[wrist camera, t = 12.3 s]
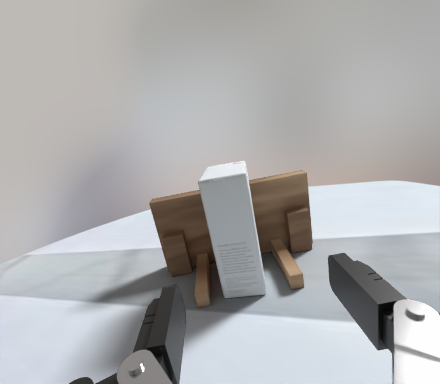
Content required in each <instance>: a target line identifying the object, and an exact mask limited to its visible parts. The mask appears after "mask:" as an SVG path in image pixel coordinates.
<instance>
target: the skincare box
mask: <svg viewBox="0 0 440 384" xmlns="http://www.w3.org/2000/svg"><path fill="white" fill-rule="evenodd" d="M198 184H199V189H200V193H201V198H202V202H203V206H204V211H205V216H206V220H207V225H208V229H209V233H210V238H211V242H212V247H213V251H214V256H215V260H216V265H217V269H218V273H219V278H220V282H221V286H222V290H223V295H224V297H225V298H235V297H244V296H255V295H264V294H266V286H265V278H264V270H263V264H262V258H261V252H260V247H259V241H258V235H257V229H256V223H255V217H254V211H253V205H252V198H251V192H250V186H249V179H248V173H247V168H246V163H245V161H240V162H234V163H228V164H221V165H216V166H210V167H207V168H206V170H205V172H204V173H203V175H202V177H201V178H200V180H199V181H198Z"/></svg>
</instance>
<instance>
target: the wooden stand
mask: <svg viewBox="0 0 440 384" xmlns="http://www.w3.org/2000/svg"><path fill="white" fill-rule="evenodd" d="M249 186H250V192H251V198H252V205H253V211H254V217H255V223H256V229H257V235H258V241H259V247H260V252H261V253H266V252H271V251H272V253H273V254H274V256H275V258H276V260H277V262H278V264H279V266H280V268H281V270H282V272H283V274H284V276H285V278H286V280H287V282H288V283H289V285H290V287H291V289H296V288H301V287H304V281H303V273H302V272H301V270H300V269H299V267H298V265H297V264H296V262H295V261H294V259H293V258H292V256H291V255H290V253H289V252H288V250H287V248H289V249H290V251H291V252H292V253H296V252H301V251H306V250H311V249H312V244H313V241H312V230H311V218H310V206H309V194H308V183H307V173H306V172H304V171H302V170H300V171H295V172H290V173H285V174H280V175H274V176H269V177H264V178H259V179H254V180H249ZM149 204H150V207H151V211H152V214H153V218H154V221H155V225H156V228H157V232H158V235H159V239H160V243H161V246H162V250H163V253H164V257H165V260H166V264H167V267H168V271H171V274H172V276H177V275H182V274H188V273H192V269H193V267H194V266H196V280H195V293H194V295H195V299H196V303H197V307H204V306H209V305H210V263H215V262H216V260H215V256H214V251H213V247H212V242H211V238H210V233H209V229H208V225H207V220H206V216H205V211H204V206H203V202H202V198H201V193H200V190H197V191H192V192H187V193H181V194H176V195H172V196H166V197H161V198H156V199H152V200H151V202H150V203H149Z"/></svg>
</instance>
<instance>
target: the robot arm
mask: <svg viewBox="0 0 440 384" xmlns="http://www.w3.org/2000/svg"><path fill="white" fill-rule="evenodd" d="M328 266H329V281H330V285H331V288H332V290H333V292H334V294H335V295H336V296H337V298H338V299H339V300H340V301H341V303H342V304H343V305H344V307H345V308H346V309H347V311H348V312H349V313H350V315H351V316H352V317H353V319H354V320H355V321H356V322H357V324H358V325H359V326H360V328H361V329H362V330H363V332H364V333H365V334H366V336H367V337H368V338H369V340H370V341H371V342H372V343H373V345H374V346H375V347H376V349H377V350H383V349H389V350H390V351H391V353H392V384H440V313H437V312H436V311H435V310H434V309H433V308H431V307H430V306H428V305H426V304H424V303H421V302H419V301H415V300H407V299H406V298H405V297H404V296H403V295H402V294H401V293H399V292H398V291H397V290H396V289H395V288H394V287H392V286H391V285H390V284H389V283H388V282H387V281H385V280H384V279H383V278H382V277H381V276H380V275H379V274H376V272H375V271H374V270H373V269H372V268H370V267H369V266H368V265H366V264H364V263H362V262H360V261H353V260H352V259H351V258H350V257H349V256H347V255H346V254H345V253H340V254H335V255H330V256H329V257H328ZM142 324H143V325H142V326H141V329H140V332H139V336H138V339H137V342H136V345H135V348H134V351H133V353H132V354H131V355H129V356H128V357H127V358H126V359H125V360H124V361H123V362H122V363H121V365H120V367H119V369H118V372H117V373H115V374H114V375H112V376H110V377H108V378H106V379H104V380H102V381H100V382H98V383H96V384H179V381H180V371H181V362H182V353H183V343H184V334H185V324H186V312H185V307H184V303H183V299H182V296H181V292H180V288H179V286H178V284H176V285H171V286H165V287H163V289H162V292H161V296H160V298H157V299H154V300H153V301H152V302H151V304H150V305H149V306H148V308H147V311H146V314H145V318H144V320H143V323H142ZM69 384H94V383H93V381H92V380H91V379H90V378H88V377H83V378H79V379H76V380H74V381H72V382H71V383H69Z"/></svg>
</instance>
